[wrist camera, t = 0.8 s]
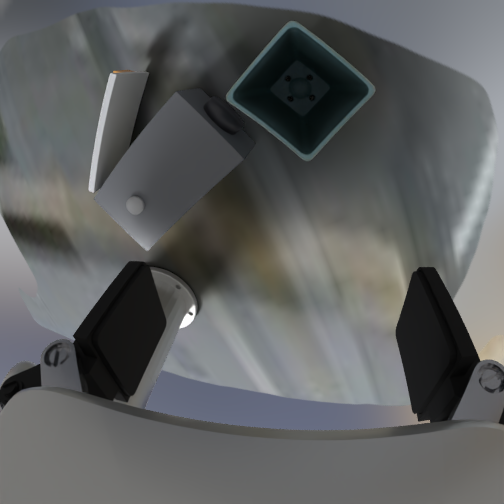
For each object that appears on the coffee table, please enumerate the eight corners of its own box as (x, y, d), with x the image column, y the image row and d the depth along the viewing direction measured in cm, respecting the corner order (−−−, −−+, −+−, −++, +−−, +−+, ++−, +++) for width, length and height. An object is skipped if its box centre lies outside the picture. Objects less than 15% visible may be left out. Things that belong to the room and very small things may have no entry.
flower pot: (358, 87, 27) (379, 89, 19) (306, 142, 31) (307, 164, 24) (294, 34, 25) (291, 17, 17) (243, 93, 29) (222, 98, 22)
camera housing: (169, 223, 39) (144, 254, 33) (123, 178, 37) (90, 201, 30) (263, 136, 31) (252, 152, 25) (207, 80, 29) (182, 82, 22)
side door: (123, 172, 36) (93, 192, 30) (113, 168, 36) (82, 187, 30) (149, 72, 28) (116, 74, 23) (136, 69, 28) (102, 71, 22)
